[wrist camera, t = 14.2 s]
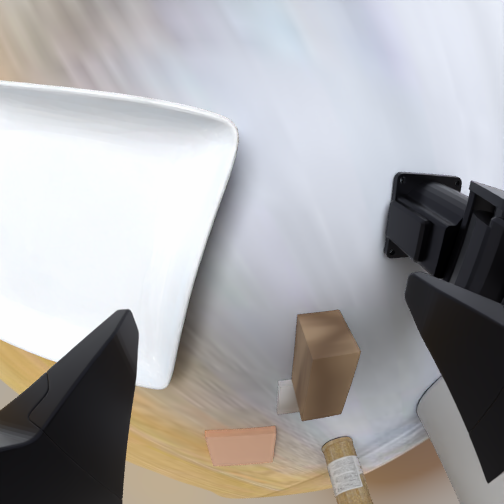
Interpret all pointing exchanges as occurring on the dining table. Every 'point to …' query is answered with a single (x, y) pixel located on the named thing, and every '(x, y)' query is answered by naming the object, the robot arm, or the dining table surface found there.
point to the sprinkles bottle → (346, 472)
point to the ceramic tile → (241, 445)
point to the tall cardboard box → (319, 367)
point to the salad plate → (104, 216)
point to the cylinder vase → (456, 448)
